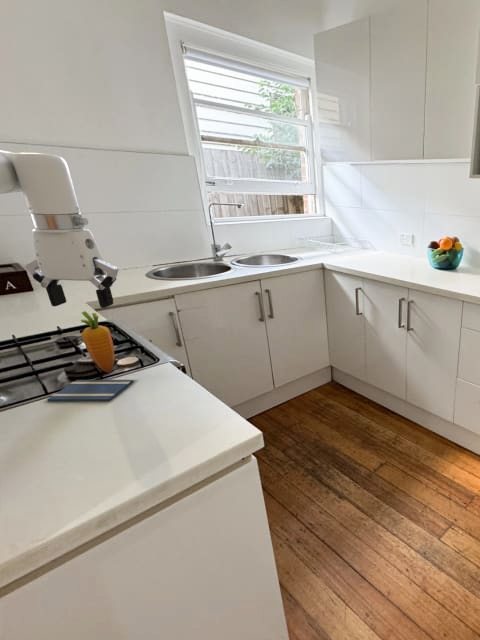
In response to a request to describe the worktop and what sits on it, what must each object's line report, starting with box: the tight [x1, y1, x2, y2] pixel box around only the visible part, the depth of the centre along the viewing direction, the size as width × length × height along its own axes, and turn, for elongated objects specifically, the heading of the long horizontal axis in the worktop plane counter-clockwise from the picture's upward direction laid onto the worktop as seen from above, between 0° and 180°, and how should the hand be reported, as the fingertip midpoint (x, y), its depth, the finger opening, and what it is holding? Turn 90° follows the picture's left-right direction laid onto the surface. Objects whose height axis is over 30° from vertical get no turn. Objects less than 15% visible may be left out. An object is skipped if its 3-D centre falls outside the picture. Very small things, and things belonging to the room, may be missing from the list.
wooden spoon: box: [77, 356, 140, 369], centre depth 93 cm, size 14×4×1 cm, turn 93°
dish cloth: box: [46, 379, 134, 402], centre depth 81 cm, size 12×8×1 cm, turn 93°
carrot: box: [80, 310, 115, 374], centre depth 86 cm, size 5×5×15 cm
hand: (83, 305), depth 82 cm, fingers open, 9 cm apart
